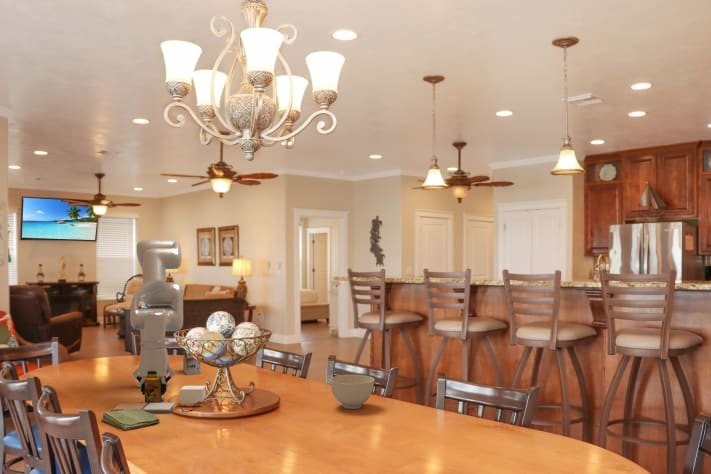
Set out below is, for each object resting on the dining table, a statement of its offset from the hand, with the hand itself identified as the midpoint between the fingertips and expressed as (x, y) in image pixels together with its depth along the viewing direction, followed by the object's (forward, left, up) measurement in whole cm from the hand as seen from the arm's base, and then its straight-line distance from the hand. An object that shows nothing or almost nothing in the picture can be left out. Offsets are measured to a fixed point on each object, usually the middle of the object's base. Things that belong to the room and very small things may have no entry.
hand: (153, 393), depth 236 cm
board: (+11, 0, -3) cm, 11 cm away
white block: (+3, +15, -3) cm, 16 cm away
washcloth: (+26, 0, -4) cm, 26 cm away
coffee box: (-54, +2, -3) cm, 54 cm away
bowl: (+7, +73, -3) cm, 73 cm away
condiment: (0, 0, -3) cm, 3 cm away
